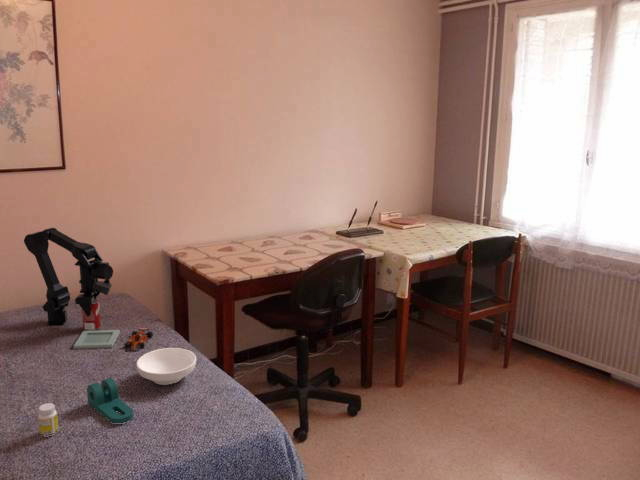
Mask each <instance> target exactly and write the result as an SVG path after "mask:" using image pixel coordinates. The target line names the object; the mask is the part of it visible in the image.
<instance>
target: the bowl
mask: <svg viewBox="0 0 640 480" xmlns="http://www.w3.org/2000/svg"><path fill="white" fill-rule="evenodd" d="M196 366H197V355H196V354H195V353H194V352H193V351H190V350H188V349H185V348H181V347H180V348H179V347H164V348H158V349H155V350H151V351H149V352H146V353H144V354H142V356H140V357H139V358H138V359H137V361H136V369H137V371H138V374H139V375H140V376H141V377H142V378H144V379H147V380H150V381H152V382H153V383H154V384H156V385H162V386H167V385H169V384H170V385H174V384H176V383H178V382H180V381H181V380H182V379H183V378H185V377H186V376H187V375H189V374H191V373H192V372H193V371H194V369H195V368H196ZM173 383H174V384H173Z"/></svg>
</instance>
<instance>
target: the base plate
mask: <svg viewBox="0 0 640 480" xmlns="http://www.w3.org/2000/svg"><path fill="white" fill-rule="evenodd" d="M120 330H121V329H106V330H104V329H101V330H99V329H97V330H95V331H86V330H83V331H82V332H81V334H80V336H79V337H78V339H76V342H75V343H74V344H73V350H76V349H77V350H80V349H82V350H83V349H84V350H85V349H106V348H107V349H111V348H113V347H114V345H115V343H116V341H117V339H118V337H119V335H120V333H121V331H120Z"/></svg>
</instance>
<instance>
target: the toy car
mask: <svg viewBox="0 0 640 480" xmlns="http://www.w3.org/2000/svg"><path fill="white" fill-rule="evenodd" d="M145 331H147V332H146V333H145ZM152 338H153V331H150V327H145V326H144V327H143V326H142V327H141V326H140V327H138V331H135V330H134V331H132V332H131V336H130V337H129V339H128V341H127V342H125V343H124V349H125V350H124V351H125V352H133V353H134V352H135V353H136V352H139V349H137V347H140V349H144V348H145V344H146V343H147V342H148V341H149V339H152ZM129 346H130V348H129Z"/></svg>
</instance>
